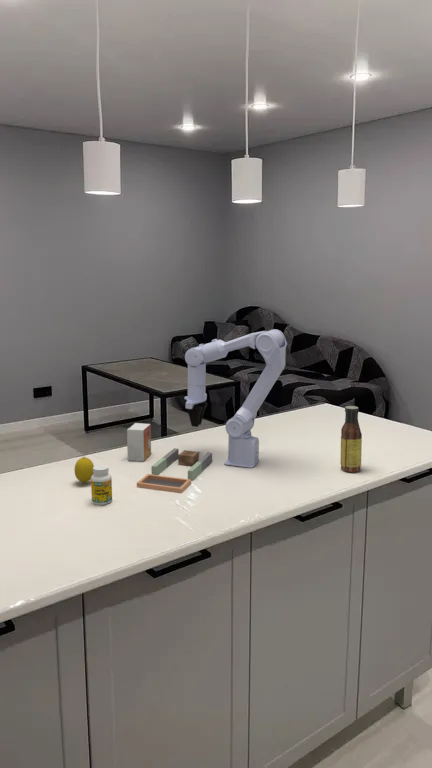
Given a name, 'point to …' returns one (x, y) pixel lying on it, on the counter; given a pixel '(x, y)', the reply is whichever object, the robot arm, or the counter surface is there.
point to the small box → (139, 442)
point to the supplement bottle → (101, 485)
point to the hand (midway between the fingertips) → (196, 425)
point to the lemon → (84, 469)
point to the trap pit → (164, 483)
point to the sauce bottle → (351, 441)
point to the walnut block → (188, 458)
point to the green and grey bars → (173, 455)
